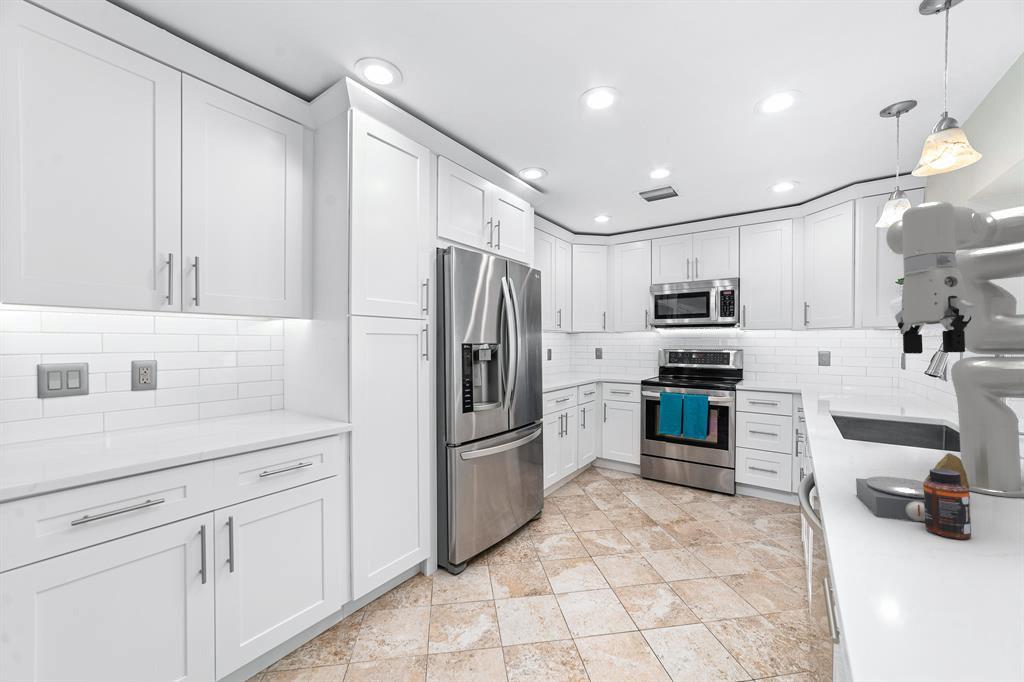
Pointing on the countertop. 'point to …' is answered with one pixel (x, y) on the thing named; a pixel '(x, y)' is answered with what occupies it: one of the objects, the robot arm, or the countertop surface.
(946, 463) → the rock
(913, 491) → the scale pan
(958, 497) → the supplement bottle
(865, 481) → the scale base
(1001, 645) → the countertop surface
